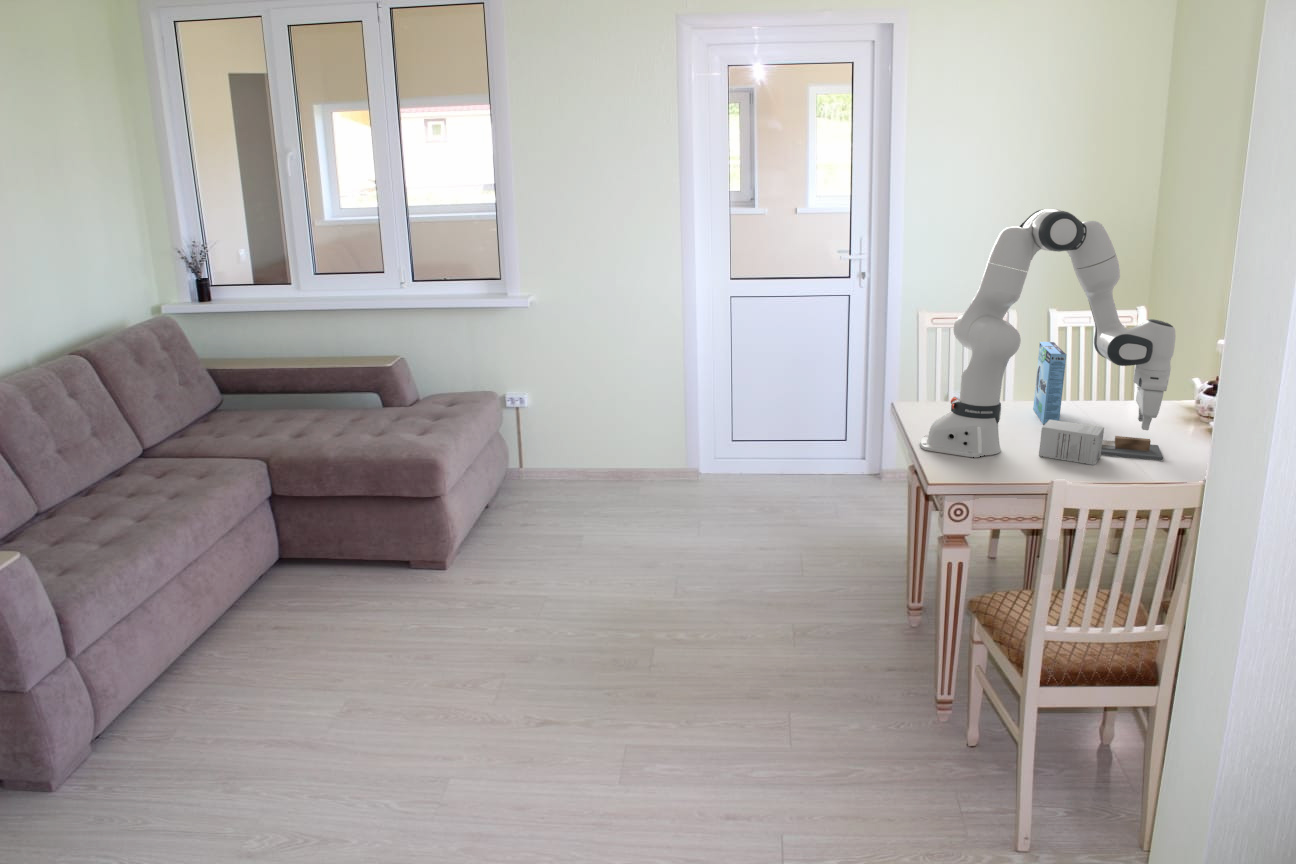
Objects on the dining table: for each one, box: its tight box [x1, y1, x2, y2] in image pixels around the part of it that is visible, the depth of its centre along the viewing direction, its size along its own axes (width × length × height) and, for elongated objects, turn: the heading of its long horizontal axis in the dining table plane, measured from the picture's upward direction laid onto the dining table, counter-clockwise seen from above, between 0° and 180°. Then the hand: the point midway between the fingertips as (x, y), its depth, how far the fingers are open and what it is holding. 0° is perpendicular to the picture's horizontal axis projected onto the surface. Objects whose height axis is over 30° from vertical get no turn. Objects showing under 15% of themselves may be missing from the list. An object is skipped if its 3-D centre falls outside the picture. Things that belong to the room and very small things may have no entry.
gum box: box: [1032, 341, 1067, 426], centre depth 317 cm, size 20×5×23 cm, turn 168°
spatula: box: [1102, 435, 1151, 451], centre depth 285 cm, size 14×5×3 cm, turn 70°
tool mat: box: [1101, 440, 1164, 461], centre depth 286 cm, size 20×12×1 cm, turn 70°
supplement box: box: [1038, 420, 1105, 466], centre depth 279 cm, size 9×9×15 cm
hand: (1143, 425), depth 282 cm, fingers open, 8 cm apart
